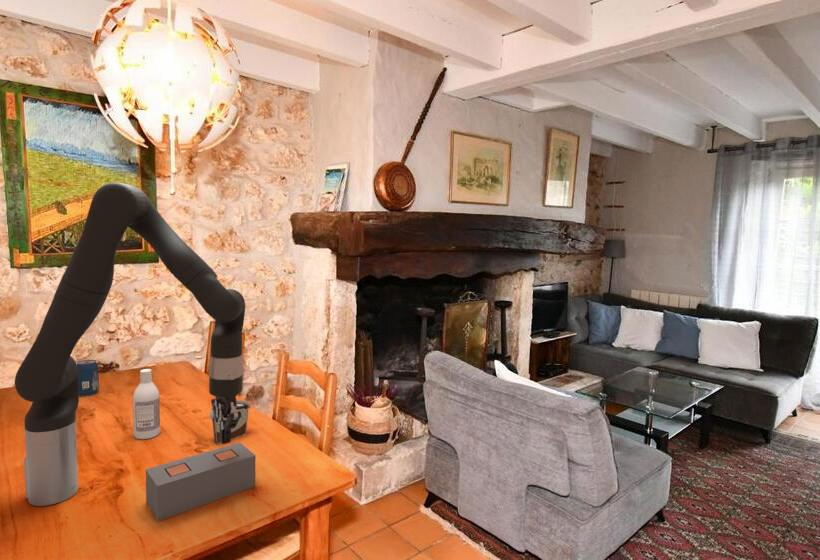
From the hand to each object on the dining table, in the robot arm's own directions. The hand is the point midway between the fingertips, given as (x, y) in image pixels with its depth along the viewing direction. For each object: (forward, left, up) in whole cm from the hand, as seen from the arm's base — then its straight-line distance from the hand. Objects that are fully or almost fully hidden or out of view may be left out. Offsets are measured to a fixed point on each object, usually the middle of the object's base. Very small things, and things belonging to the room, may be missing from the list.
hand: (225, 442), depth 114 cm
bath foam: (-40, +15, -12) cm, 44 cm away
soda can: (-86, +33, -12) cm, 92 cm away
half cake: (-18, +23, -12) cm, 31 cm away
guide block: (-3, -5, -11) cm, 13 cm away
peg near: (-5, -9, -11) cm, 16 cm away
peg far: (0, 0, -11) cm, 11 cm away
